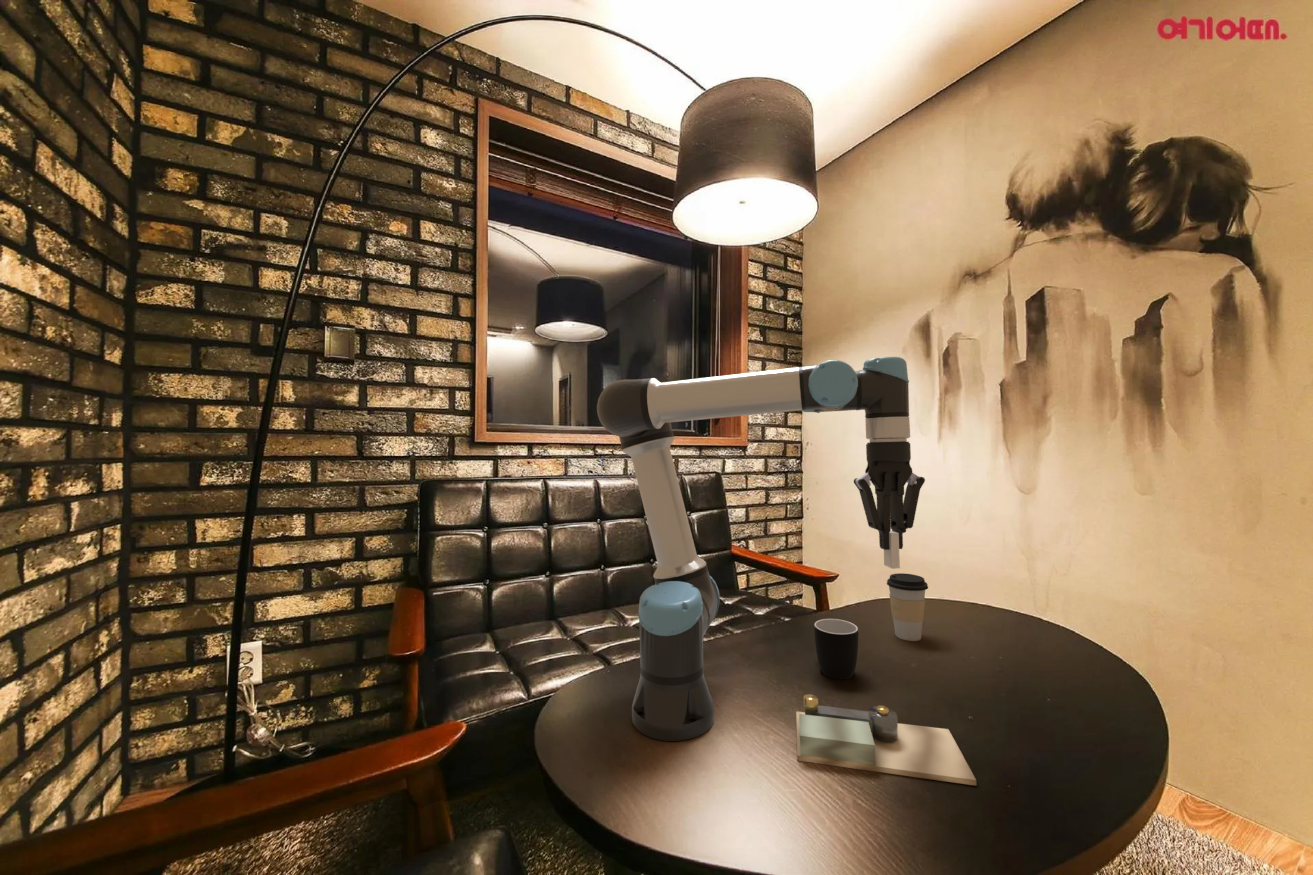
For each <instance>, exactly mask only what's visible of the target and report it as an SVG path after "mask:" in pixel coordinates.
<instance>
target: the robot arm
mask: <svg viewBox="0 0 1313 875" xmlns="http://www.w3.org/2000/svg"><path fill="white" fill-rule="evenodd" d="M907 364H908V363H907V361H906V360H905V358H903V357H901V356H883V357H875V358H870V359H866V360H865V361H864V362H863V367H862V369H859V370H854V368H853V367H852V366H851V365H850V364H848V363H847V362H846V361H843V360H839V359H829V360H826V361H825V360H824V361H823V362H820V363H819V364H814V365H806V366H794V367H786V368H780V369H779V368H777V369H769V370H760V371H752V372H743V373H734V374H724V375H718V376H717V375H716V376H709V377H708V376H707V377H697V378H690V379H682V380H681V379H680V380H674V381H663V382H660V380H658V379H657V378H655V377H651V378H641V379H640V378H639V379H620V380H619V379H618V380H616V381H613V382H611V383H610V384H608V385H607V386H606V387H605V388H604V389H603V391H602V392H601V393H600V395H599V396H598V398H597V399H598V400H597V404H596V412H597V417H598V420H599V422H600V424H601V425H602V427H603V428H604V429H605V430H606V431H607V432H609V433H610V434H612V435H613V436H616V437H618V438H619V442H620V446H621V450H622V452H623V453H624V454H626V455H628V456H629V457H631V458H630V459H631V461H632V462H631V463H632V465H633V469H634V473H635V476H636V477H635V478H636V482H637V486H638V489H639V494H640V497H641V501H642V505H643V509H644V514H645V518H646V521H647V525H648V530H649V534H650V538H651V541H652V542H651V543H652V546H653V547H652V548H653V550H654V555H655V558H656V562H657V568H656V570H655V572H654V573H653V580H654V584H652V585H651V586H649V587H647V588H646V589H645V590H644V591H643V592H642V594H641V595H640V597H639V607H638V612H637V613H638V614H637V616H638V625H639V626H638V628H639V661H640V663H639V665H640V677H639V680H638V684H637V686H636V690H635V694H634V696H633V697H634V698H633V699H632V705H631V720H632V721H631V722H632V724H633V726H634V728H635V729H636V730H637V731H639V732H640V733H641V734H642V735H645V736H646V737H648V738H652V739H655V740H659V741H664V742H666V741H667V742H681V741H689V740H692V739H694V738H697V737H699V736H702V735H703V734H705V733H707V732H708V731H709V730H710V728H712V726H713V724H714V721H715V706H714V702H713V698H712V695H711V693H710V691H709V690H710V689H709V688H708V684H707V681H706V678H705V674H704V643H703V641H704V636H705V635H706V632H707V631H708V629H709V628H710V625H711V624H712V622H713V621H714V620H715V618H716V616H717V614H718V611H719V608H720V590H719V588H718V587H719V586H718V585H717V583H716V580H715V579H713V578H714V577H712V576H711V575H710V572H709V570H708V566H707V561H705V560H704V559H703V558H701V557H699V556H698V555H697V554H698V553H697V550H696V545H695V543H694V539H693V534H692V531H691V530H692V529H691V526H690V523H689V518H688V514H687V511H686V507H685V503H684V499H683V496H682V490H681V488H680V482H679V478H678V475H677V471H676V467H675V463H674V460H673V456H672V452H671V445H672V443H673V442H674V440H675V435H674V432H673V428H672V423H679V422H687V421H688V422H689V421H699V420H710V419H722V418H732V417H744V416H753V415H754V416H755V415H765V414H776V413H785V412H787V413H788V412H796V411H802V412H803V413H817V414H820V413H827V412H845V411H847V412H848V411H862V410H864V413H865V416H864V417H865V439H867V440H869V442H867V443H866V445H865V449H866V451H865V452H866V454H865V455H866V462H867V465H866V467H865V470H864V472H865V473H864V474H862V476H860V477H859V478H858V477H856V478H854V479H853V483H854V485H855V487H856V488H857V490H858V491H859V495H860V500H861V502H862V507H863V510H864V513H865V516H866V517H865V518H866V522H867V525H868V527H869V528H871V529H873V530H877V531H878V540H879V541H878V542H879V544H878V545H879V548H880V549H881V550H883V562H884V563H883V565H884V566H885V567H887V568H890V569H894V570H895V569H900V568H901V566H900V564H901V562H900V561H901V560H900V550H902V549H903V546H904V540H903V539H904V538H903V536H904V535H903V534H905V533H906V532H907V530H908V529H912V528H913V527H914V522H915V518H916V511H917V507H918V502H919V499H920V498H919V496H920V492H921V488H922V487H923V485H924V484H925V482H926V479H925V477H924V476H919V475H917V474H916V473H914V472H913V468H912V467H911V464H910V463H911V460H912V459H911V458H912V457H911V455H912V453H911V443H910V442H909V441H907V439H910V437H911V428H910V426H911V425H910V424H911V422H910V404H909V403H910V400H909V399H910V396H909V395H910V394H909V389H910V388H909V383H910V380H909V377H908V376H909V375H908V366H907ZM906 484H907V486H906V489H905V485H906ZM871 485H873V486H874V493H875V495H876V502H875V498H874V495H873V494H874V493H873V490H872V488H871Z"/></svg>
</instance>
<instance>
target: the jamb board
mask: <svg viewBox="0 0 1313 875" xmlns="http://www.w3.org/2000/svg"><path fill="white" fill-rule="evenodd" d="M795 714H796V717H795V718H796V752H797V753H796V754H797V755H796V757H797V761H800V762H804V763H805V762H807V763H814V764H821V765H828V766H836V767H842V768H849V769H855V770H863V771H869V772H877V773H884V774H891V775H898V776H903V777H904V776H905V777H912V778H919V779H925V780H926V779H927V780H932V781H933V780H935V781H940V782H949V783H955V784H962V785H968V786H977V779H976V777H975V775H974V774H973V772H972V770H971V767H970V766H969V764H968V763H967V762H968V761H966V759H965V757H964V755H963V753H962V751H961V750H960V748H959V746H958V744H957V742H956V740H955V739H954V737H953V735H952V733H951V731H950V730H949V728H943V727H942V728H941V727H931V726H923V725H916V724H915V725H914V724H907V723H898V722H897V723H898V739H897V740H896V741H894V742H883V741H880V740H877V739H875V738H874V737H872V733H871V729H870V726H869V722H864V721H855V720H847V719H838V718H830V717H821V716H813V715H805V711H804V712H803V711H796V713H795Z"/></svg>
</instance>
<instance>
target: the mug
mask: <svg viewBox="0 0 1313 875" xmlns="http://www.w3.org/2000/svg"><path fill="white" fill-rule="evenodd" d="M813 630H814V631H813V633H814V644H815V651H816V656H817V657H816V658H817V661H818V666H819V668H820V671H821V673H822V674H823V675H824V676H825V677H828V678H831V679H834V680H848V679H851V678H852V677H853V675H854V674H855V671H856V667H857V661H858V652H859V627H858V626H857V625H856V624H854V623H852V622H850V621H848V620H843V619H838V618H823V619H822V618H821V619H819V620H817V621H815V622H814V626H813Z"/></svg>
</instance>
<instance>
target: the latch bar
mask: <svg viewBox="0 0 1313 875" xmlns="http://www.w3.org/2000/svg"><path fill="white" fill-rule="evenodd" d="M803 708H804V712H805V715H813V716H821V717H830V718H838V719H847V720H855V721H864V722H869V726H870V729H871V733H872V737H874V738H875V739H877V740H880V741H883V742H894V741H896V740H897V739H898V714H897V712H896V711H895V710H893V709H891V708H890V707H887V706H885V705H876V706H875V705H874V706H870V707H869V708H868V711H867V710H859V709H851V708H845V707H844V708H843V707H834V706H828V705H827V706H826V705H819V698H818V696H817V695H815V694H812V693H811V694H810V693H809V694H804V695H803Z"/></svg>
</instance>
